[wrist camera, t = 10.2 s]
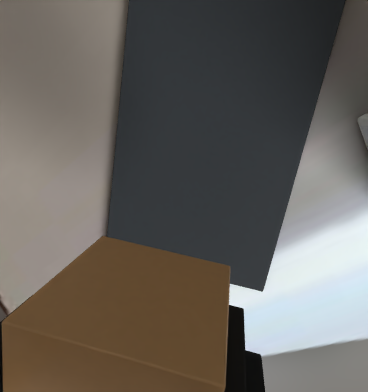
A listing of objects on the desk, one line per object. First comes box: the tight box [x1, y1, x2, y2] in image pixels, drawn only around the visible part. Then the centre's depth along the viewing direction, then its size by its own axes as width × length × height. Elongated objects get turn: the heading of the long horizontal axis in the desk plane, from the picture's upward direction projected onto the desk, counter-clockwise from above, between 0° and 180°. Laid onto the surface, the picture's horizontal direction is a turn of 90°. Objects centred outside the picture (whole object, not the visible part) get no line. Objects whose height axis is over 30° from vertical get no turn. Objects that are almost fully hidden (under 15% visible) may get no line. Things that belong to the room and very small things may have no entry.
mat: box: [107, 0, 346, 291], centre depth 18 cm, size 20×12×1 cm, turn 170°
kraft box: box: [2, 236, 230, 392], centre depth 9 cm, size 5×5×5 cm
